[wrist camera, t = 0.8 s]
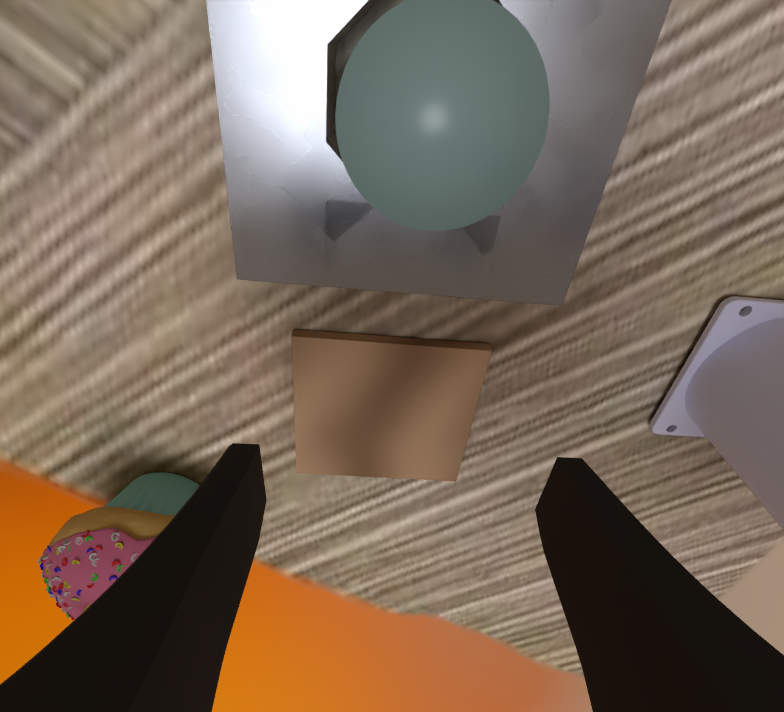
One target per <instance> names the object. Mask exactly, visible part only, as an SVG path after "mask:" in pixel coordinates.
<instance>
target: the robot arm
mask: <svg viewBox="0 0 784 712" xmlns="http://www.w3.org/2000/svg"><path fill="white" fill-rule="evenodd" d="M745 306H746V307H745ZM744 307H745V308H744ZM742 308H744V309H743V310H742V311H740V310H741V309H742ZM649 427H650V429H651V430H652V432H653V433H655V434H661V435H677V436H694V437H707V439H708V440H709V441H710V442H711V443H712V445H713V446H714V447H715V448H716V449H717V451H718V452H719V453H720V454H721V455H722V457H723V458H724V459H725V460H726V461H727V463H728V464H729V465H730V466H731V468H732V469H733V470H734V471H735V472H736V474H737V475H738V476H739V477H740V478H741V480H742V481H743V482H744V483H745V484H746V486H747V487H748V488H749V489H750V490H751V492H752V493H753V494H754V495H755V497H756V498H757V499H758V500H759V501H760V503H761V504H762V505H763V506H764V507H765V509H766V510H767V511H768V512H769V513H770V515H771V516H772V517H773V518H774V519H775V521H776V522H777V523H778V524H779V525H780V527H781V528H782V529H783V530H784V300H773V299H761V298H749V297H738V296H734V297H729V298H727V299H725V300H724V301H722V302H721V304H720V305H719V306H718V308H717V310H716V311H715V313H714V315H713V316H712V318H711V320H710V321H709V323H708V325H707V327H706V328H705V330H704V332H703V333H702V335H701V337H700V339H699V340H698V342H697V344H696V345H695V347H694V349H693V350H692V352H691V354H690V356H689V357H688V359H687V361H686V362H685V364H684V366H683V368H682V369H681V371H680V373H679V374H678V376H677V378H676V379H675V381H674V383H673V385H672V386H671V388H670V390H669V391H668V393H667V395H666V396H665V398H664V400H663V402H662V403H661V405H660V407H659V408H658V410H657V412H656V414H655V415H654V417H653V419H652V420H651V422H650V425H649ZM265 505H266V493H265V486H264V478H263V470H262V462H261V455H260V447H259V445H258V444H235V443H233V444H232V445H230V446H229V447H228V448H227V450H226V451H225V453H224V454H223V455H222V457H221V458H220V459H219V461H218V462H217V464H216V465H215V466H214V468H213V469H212V470H211V472H210V473H209V474H208V475H207V477H206V478H205V479H204V481H203V482H202V483H201V484H200V486H199V487H198V488H197V490H196V491H195V492H194V493H193V495H192V496H191V497H190V498H189V499H188V501H187V502H186V503H185V504H184V506H183V507H182V508H181V509H180V510H179V512H178V513H177V514H176V515H175V516H174V518H173V519H172V520H171V521H170V522H169V523H168V525H167V526H166V527H165V528H164V529H163V530H162V531H161V533H160V534H159V535H158V536H157V537H156V538H155V539H154V540H153V541H152V542H151V544H150V545H149V546H148V547H147V548H146V549H145V550H144V551H143V552H142V553H141V555H140V556H139V557H138V558H137V559H136V560H135V561H134V562H133V563H132V564H131V565H130V566H129V567H128V568H127V569H126V571H125V572H124V573H123V574H122V575H121V576H120V577H119V578H118V579H117V580H116V581H115V582H114V583H113V584H112V585H111V586H110V587H109V588H108V589H107V590H106V591H105V592H104V593H103V594H102V595H101V596H100V597H99V598H97V599H96V600H95V601H94V602H93V603H92V604H91V605H90V606H89V607H88V608H87V609H86V610H85V611H84V612H83V613H82V614H81V615H80V616H79V617H77V618H76V619H75V620H74V621H73V622H72V623H71V624H70V625H69V626H68V627H66V628H65V629H64V630H63V631H62V632H61V633H60V634H59V635H58V636H57V637H55V638H54V639H53V640H52V641H51V642H50V643H49V644H48V645H47V646H46V647H44V648H43V649H42V650H41V651H40V652H39V653H38V654H36V655H35V656H34V657H33V658H32V659H31V660H29V661H28V662H27V663H26V664H25V665H24V666H22V667H21V668H20V669H19V670H18V671H16V672H15V673H14V674H13V675H11V676H10V677H9V678H8V679H7V680H5V681H4V682H3V683H2V684H0V712H212V707H213V702H214V698H215V693H216V689H217V684H218V680H219V675H220V670H221V666H222V662H223V658H224V654H225V650H226V646H227V643H228V640H229V636H230V633H231V630H232V627H233V623H234V620H235V617H236V614H237V610H238V607H239V604H240V601H241V597H242V594H243V591H244V588H245V584H246V581H247V578H248V575H249V571H250V568H251V565H252V562H253V558H254V555H255V552H256V548H257V545H258V541H259V536H260V531H261V526H262V521H263V515H264V510H265ZM535 511H536V516H537V521H538V527H539V532H540V536H541V541H542V545H543V550H544V553H545V556H546V560H547V563H548V566H549V569H550V572H551V575H552V578H553V581H554V584H555V587H556V590H557V593H558V596H559V598H560V601H561V604H562V607H563V610H564V613H565V616H566V619H567V622H568V625H569V628H570V631H571V634H572V637H573V640H574V643H575V646H576V649H577V652H578V655H579V659H580V662H581V665H582V669H583V673H584V677H585V681H586V685H587V689H588V693H589V697H590V701H591V706H592V710H593V712H784V655H783V654H781V653H780V652H779V651H778V650H776V649H775V648H774V647H773V646H772V645H770V644H769V643H768V642H767V641H766V640H764V639H763V638H762V637H761V636H759V635H758V634H757V633H756V632H755V631H754V630H752V629H751V628H750V627H749V626H748V625H747V624H745V623H744V622H743V621H742V620H741V619H740V618H739V617H737V616H736V615H735V614H734V613H733V612H732V611H731V610H729V609H728V608H727V607H726V606H725V605H724V604H723V603H721V602H720V601H719V600H718V599H717V598H716V597H715V596H714V595H713V594H712V593H710V592H709V591H708V590H707V589H706V588H705V587H704V586H703V585H702V584H701V583H700V582H699V581H698V580H697V579H696V578H695V577H694V576H692V575H691V574H690V573H689V572H688V571H687V570H686V569H685V568H684V567H683V566H682V565H681V564H680V563H679V562H678V561H677V560H676V559H675V558H674V557H673V556H672V555H671V554H670V553H669V552H668V551H667V550H666V549H665V548H664V547H663V546H662V545H661V544H660V543H659V542H658V541H657V540H656V539H655V538H654V537H653V536H652V535H651V533H650V532H649V531H648V530H647V529H646V528H645V527H644V526H643V525H642V524H641V523H640V522H639V521H638V520H637V519H636V518H635V516H634V515H633V514H632V513H631V512H630V511H629V510H628V509H627V508H626V507H625V506H624V504H623V503H622V502H621V501H620V500H619V499H618V498H617V497H616V496H615V495H614V493H613V492H612V491H611V490H610V489H609V488H608V487H607V486H606V485H605V483H604V482H603V481H602V480H601V479H600V478H599V477H598V476H597V475H596V473H595V472H594V471H593V470H592V469H591V468H590V467H589V466H588V465H587V464H586V463H585V461H584V460H583V459H582V458H562V457H557V459H556V462H555V464H554V466H553V469H552V471H551V473H550V476H549V478H548V480H547V483H546V485H545V488H544V490H543V492H542V495H541V497H540V499H539V502H538V504H537V506H536V509H535Z"/></svg>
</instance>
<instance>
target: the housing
mask: <svg viewBox="0 0 784 712" xmlns="http://www.w3.org/2000/svg"><path fill="white" fill-rule="evenodd" d="M376 1H377V0H206V2H207V11H208V20H209V29H210V38H211V47H212V56H213V65H214V74H215V84H216V93H217V102H218V111H219V120H220V129H221V138H222V147H223V156H224V165H225V174H226V183H227V193H228V202H229V211H230V220H231V229H232V238H233V247H234V256H235V265H236V274H237V279H240V280H253V281H265V282H277V283H289V284H302V285H314V286H326V287H338V288H351V289H363V290H375V291H387V292H400V293H412V294H424V295H436V296H449V297H461V298H473V299H485V300H498V301H510V302H522V303H534V304H547V305H559V306H562V305H563V302H564V299H565V296H566V293H567V291H568V288H569V285H570V282H571V280H572V277H573V274H574V271H575V268H576V266H577V263H578V260H579V257H580V254H581V252H582V249H583V246H584V243H585V241H586V238H587V235H588V232H589V229H590V227H591V224H592V221H593V218H594V215H595V213H596V210H597V207H598V204H599V201H600V199H601V196H602V193H603V190H604V188H605V185H606V182H607V179H608V176H609V174H610V171H611V168H612V165H613V162H614V160H615V157H616V154H617V151H618V148H619V146H620V143H621V140H622V137H623V135H624V132H625V129H626V126H627V123H628V121H629V118H630V115H631V112H632V109H633V107H634V104H635V101H636V98H637V96H638V93H639V90H640V87H641V84H642V82H643V79H644V76H645V73H646V70H647V68H648V65H649V62H650V59H651V56H652V54H653V51H654V48H655V45H656V43H657V40H658V37H659V34H660V31H661V29H662V26H663V23H664V20H665V17H666V15H667V12H668V9H669V6H670V4H671V1H672V0H493V1H495V2H496V3H498V4H500V5H501V6H503V7H504V8H506V9H507V10H508V11H509V12H510V13H512V14H513V15H514V16H515V17H516V18H517V19H518V20H519V21H520V22H521V23H522V25H523V26H524V27H525V28H526V29H527V31H528V32H529V34H530V35H531V37H532V39H533V40H534V42H535V44H536V45H537V48H538V50H539V52H540V55H541V57H542V59H543V63H544V66H545V70H546V73H547V79H548V86H549V99H550V109H549V120H548V126H547V131H546V136H545V140H544V143H543V146H542V149H541V152H540V154H539V157H538V159H537V161H536V163H535V165H534V167H533V169H532V171H531V172H530V174H529V176H528V177H527V179H526V180H525V182H524V183H523V184H522V186H521V187H520V188H519V190H518V191H517V192H516V193H515V194H514V195H513V196H512V197H511V198H510V199H509V200H508V201H507V202H506V203H505V204H504V205H503V206H501V207H500V208H499V209H498V210H496V211H495V212H493V213H492V214H490V215H489V216H487V217H486V218H484V219H482V220H480V221H478V222H476V223H473V224H470V225H468V226H465V227H462V228H457V229H453V230H445V231H425V230H418V229H413V228H410V227H407V226H403V225H401V224H399V223H396V222H394V221H392V220H390V219H389V218H387V217H385V216H384V215H382V214H381V213H379V212H378V211H377V210H376V209H375V208H373V207H372V206H371V205H370V204H369V203H368V202H367V201H366V200H365V199H364V198H363V197H362V195H361V194H360V193H359V191H358V190H357V189H356V187H355V186H354V184H353V182H352V181H351V179H350V177H349V175H348V173H347V171H346V169H345V166H344V164H343V161H342V158H341V154H340V151H339V147H338V142H337V135H336V132H335V130H334V88H335V45H336V44H337V43H338V41H339V40H340V39H341V38H342V37H343V36H344V35H345V34H346V33H347V32H348V31H349V30H350V29H351V28H352V27H353V25H354V24H355V23H356V22H357V21H358V20H359V19H360V18H361V17H362V16H363V15H364V14H365V13H366V12H367V11H368V9H369V8H370V7H371V6H372V5H373V4H374V3H375V2H376Z"/></svg>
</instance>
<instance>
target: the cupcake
mask: <svg viewBox="0 0 784 712" xmlns="http://www.w3.org/2000/svg"><path fill="white" fill-rule="evenodd" d="M199 486H200V485H199V484H198V483H196V482H194V481H193V480H191V479H189V478H186V477H184V476H181V475H177V474H173V473H165V472H155V473H148V474H144V475H142V476H139V477H138V478H136V479H134V480H133V481H132V482H131V483H130V484H129V485H128V486H127V487H126V488H125V489H124V490H122V491H121V492H120V493H119V494H118V495H117V496H116V497H115V498H113V499H112V500H111V501H110V502H109V503H107V504H106V505H105V506H104V507H99V508H94V509H91V510H89V511H87V512H85V513H82V514H79V515H75V516H73V517H71V518H70V519H69V520H68V521H67V522H66V523H65V524H64V525H63V527H62V528H61V529H60V530H59V532H58V533H57V534H56V535H55V537H54V538H53V539H52V541H51V542H50V544H49V546H47V547H48V548H47V549H45V550H44V552H43V556H42V557H40V558H39V560H38V561H37V563H41V565H40V567H41V570H44V571H43V572H42V578H44V577H45V579H44V581H45V583H47V588H46V590H47V591H48V593H49V596H50V597H52V598H56V601H57V602H58V603H56V605H57V606H58V607H59V608H62V611H63V612H65V613H66V615H67V617H68V618H69V617H70V616H71V618H72V620H74V619H76V618H77V617H79V616H80V615H81V614H82V613H83V612H84V611H85V610H86V609H87V608H88V607H89V606H90V605H91V604H92V603H93V602H94V601H95V600H96V599H97V598H99V597H100V596H101V595H102V594H103V593H104V592H105V591H106V590H107V589H108V588H109V587H110V586H111V585H112V584H113V583H114V582H115V581H116V580H117V579H118V578H119V577H120V576H121V575H122V574H123V573H124V572H125V571H126V569H127V568H128V567H129V566H130V565H131V564H132V563H133V562H134V561H135V560H136V559H137V558H138V557H139V556H140V555H141V553H142V552H143V551H144V550H145V549H146V548H147V547H148V546H149V545H150V544H151V542H152V541H153V540H154V539H155V538H156V537H157V536H158V535H159V534H160V533H161V531H162V530H163V529H164V528H165V527H166V526H167V525H168V523H169V522H170V521H171V520H172V519H173V518H174V516H175V515H176V514H177V513H178V512H179V510H180V509H181V508H182V507H183V506H184V504H185V503H186V502H187V501H188V499H189V498H190V497H191V496H192V495H193V493H194V492H195V491H196V490H197V488H198V487H199ZM40 559H41V560H40ZM52 595H53V596H52ZM58 604H59V605H58ZM68 614H69V615H68Z"/></svg>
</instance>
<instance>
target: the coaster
mask: <svg viewBox="0 0 784 712" xmlns="http://www.w3.org/2000/svg"><path fill="white" fill-rule="evenodd" d="M491 352H492V350H491V347H490V344H485V343H472V342H459V341H445V340H432V339H418V338H405V337H392V336H378V335H365V334H351V333H338V332H325V331H311V330H298V329H294V330H293V333H292V364H293V391H294V418H295V445H296V472H297V473H309V474H328V475H347V476H366V477H386V478H405V479H424V480H443V481H456V480H457V476H458V473H459V469H460V465H461V462H462V458H463V454H464V451H465V447H466V443H467V440H468V436H469V433H470V429H471V425H472V422H473V418H474V414H475V411H476V407H477V403H478V400H479V396H480V392H481V389H482V385H483V382H484V378H485V374H486V371H487V367H488V363H489V360H490V356H491Z"/></svg>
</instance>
